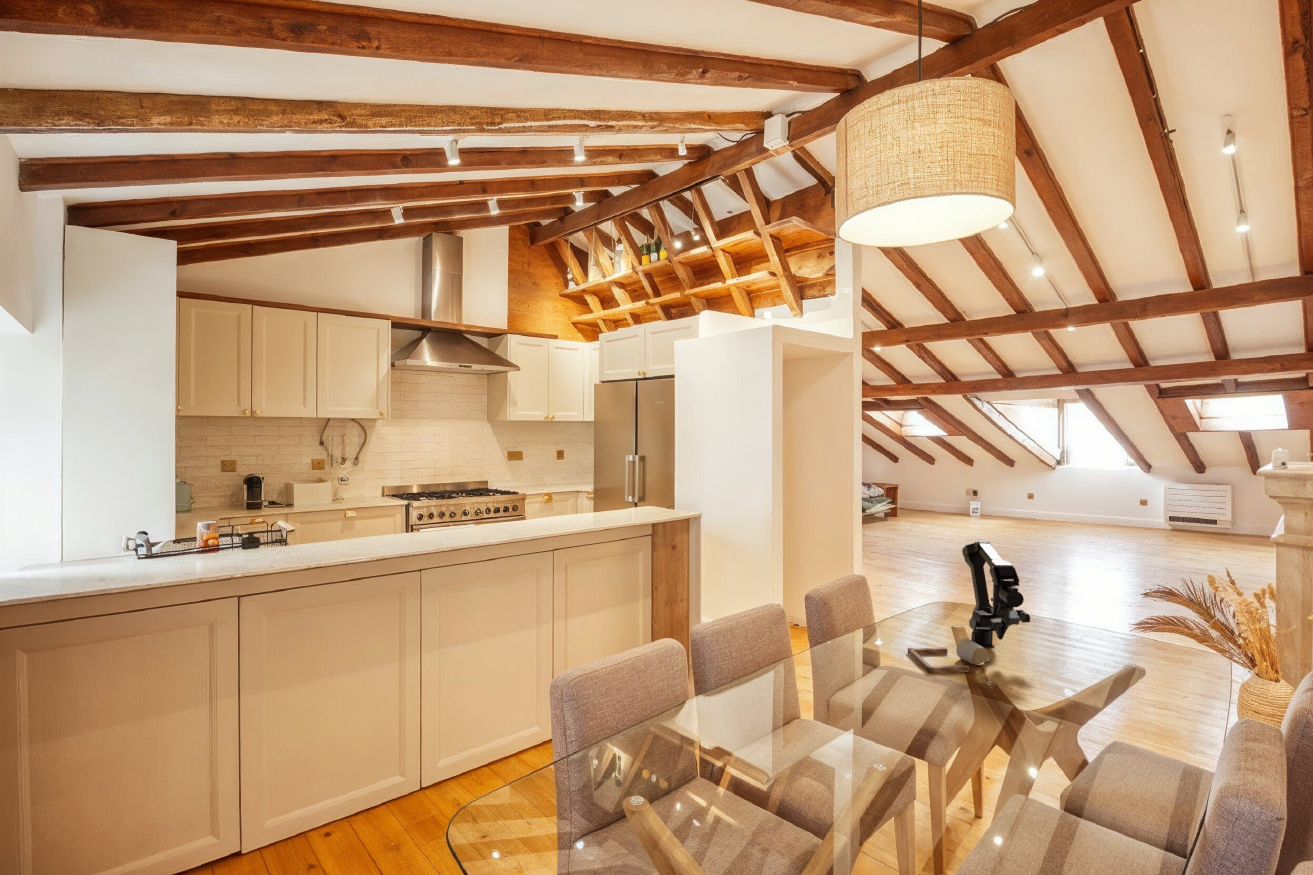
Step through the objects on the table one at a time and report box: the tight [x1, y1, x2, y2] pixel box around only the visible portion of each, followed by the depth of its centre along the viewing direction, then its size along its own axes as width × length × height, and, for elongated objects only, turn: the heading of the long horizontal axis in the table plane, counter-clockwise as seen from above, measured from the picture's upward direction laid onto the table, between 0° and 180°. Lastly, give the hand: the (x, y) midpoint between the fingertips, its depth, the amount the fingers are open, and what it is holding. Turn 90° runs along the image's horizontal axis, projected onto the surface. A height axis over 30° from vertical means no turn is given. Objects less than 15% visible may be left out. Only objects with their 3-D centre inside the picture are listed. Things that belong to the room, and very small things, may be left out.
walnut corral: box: [907, 646, 970, 675], centre depth 231 cm, size 14×17×2 cm
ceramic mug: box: [956, 638, 991, 666], centre depth 231 cm, size 11×8×8 cm
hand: (1000, 639), depth 231 cm, fingers closed
